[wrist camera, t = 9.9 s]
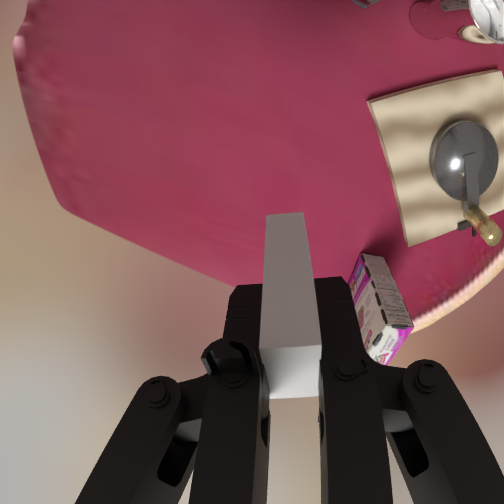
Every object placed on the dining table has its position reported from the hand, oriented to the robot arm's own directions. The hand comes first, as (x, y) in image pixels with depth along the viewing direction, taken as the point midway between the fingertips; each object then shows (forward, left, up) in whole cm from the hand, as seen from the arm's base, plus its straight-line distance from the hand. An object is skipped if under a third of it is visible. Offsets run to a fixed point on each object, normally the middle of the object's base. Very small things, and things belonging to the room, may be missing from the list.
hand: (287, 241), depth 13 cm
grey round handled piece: (+17, +24, -27) cm, 40 cm away
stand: (+14, +24, -29) cm, 40 cm away
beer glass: (-7, +26, -30) cm, 40 cm away
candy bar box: (+31, +3, -30) cm, 43 cm away
